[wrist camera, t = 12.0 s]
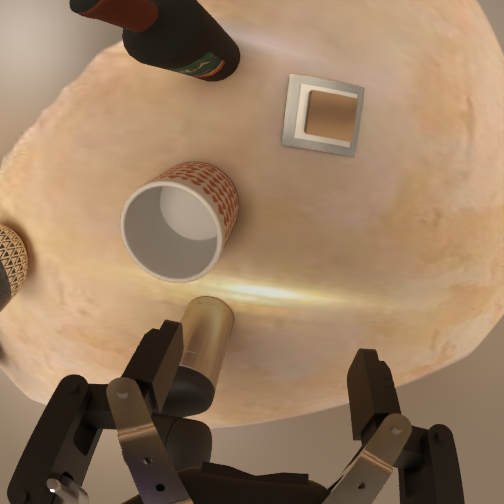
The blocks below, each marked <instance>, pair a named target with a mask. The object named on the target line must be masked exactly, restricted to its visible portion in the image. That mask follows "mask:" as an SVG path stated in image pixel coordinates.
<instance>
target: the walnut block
mask: <svg viewBox="0 0 504 504" xmlns="http://www.w3.org/2000/svg"><path fill="white" fill-rule="evenodd" d="M357 103H358V99H357V98H353V97H348V96H344V95H339V94H334V93H329V92H323V91H317V90H311V91H310V92H309V96H308V104H307V112H306V119H305V127H304V132H305V133H306V134H309V135H315V136H321V137H326V138H332V139H337V140H342V141H347V142H352V137H353V131H354V124H355V118H356V111H357Z"/></svg>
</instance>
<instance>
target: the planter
mask: <svg viewBox="0 0 504 504" xmlns="http://www.w3.org/2000/svg"><path fill="white" fill-rule="evenodd" d="M27 270H28V257H27V251H26V248H25V245H24V243H23V241H22V240H21V238H20V237H19V236H18V234H17V233H16V232H15V231H13V230H12V229H10V228H9V227H7V226H4V225H1V224H0V312H1V311H2V310H3V309H4V308H5V307H6V305H7V304H8V303H9V302H10V301H11V300H12V299H13V298H14V296H15V295H16V294H17V293H18V292H19V290H20V288H21V287H22V285H23V283H24V281H25V279H26V276H27Z"/></svg>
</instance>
